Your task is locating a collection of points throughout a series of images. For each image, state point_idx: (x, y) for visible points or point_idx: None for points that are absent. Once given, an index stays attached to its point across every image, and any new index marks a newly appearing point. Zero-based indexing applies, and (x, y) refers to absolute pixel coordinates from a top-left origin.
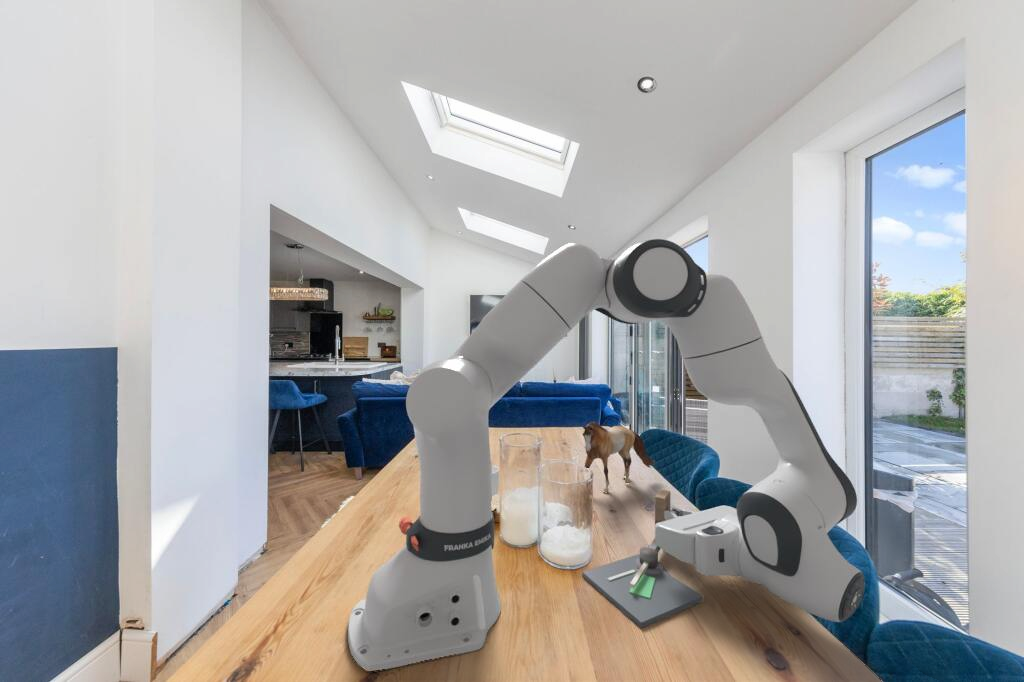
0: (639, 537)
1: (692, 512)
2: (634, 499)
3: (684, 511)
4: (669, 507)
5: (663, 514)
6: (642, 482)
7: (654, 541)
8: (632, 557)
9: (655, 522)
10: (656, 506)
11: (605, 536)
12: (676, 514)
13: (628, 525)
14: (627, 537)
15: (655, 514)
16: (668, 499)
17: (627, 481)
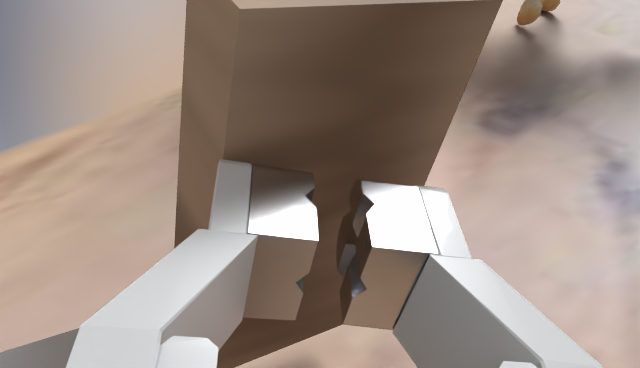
0: None
1: (535, 357)
2: (484, 70)
3: (448, 277)
4: (413, 150)
5: None
6: (592, 40)
7: (54, 349)
8: None
9: (177, 212)
10: (191, 79)
11: (82, 143)
12: (308, 262)
13: None
14: None
15: (179, 150)
16: (408, 69)
17: (527, 11)
